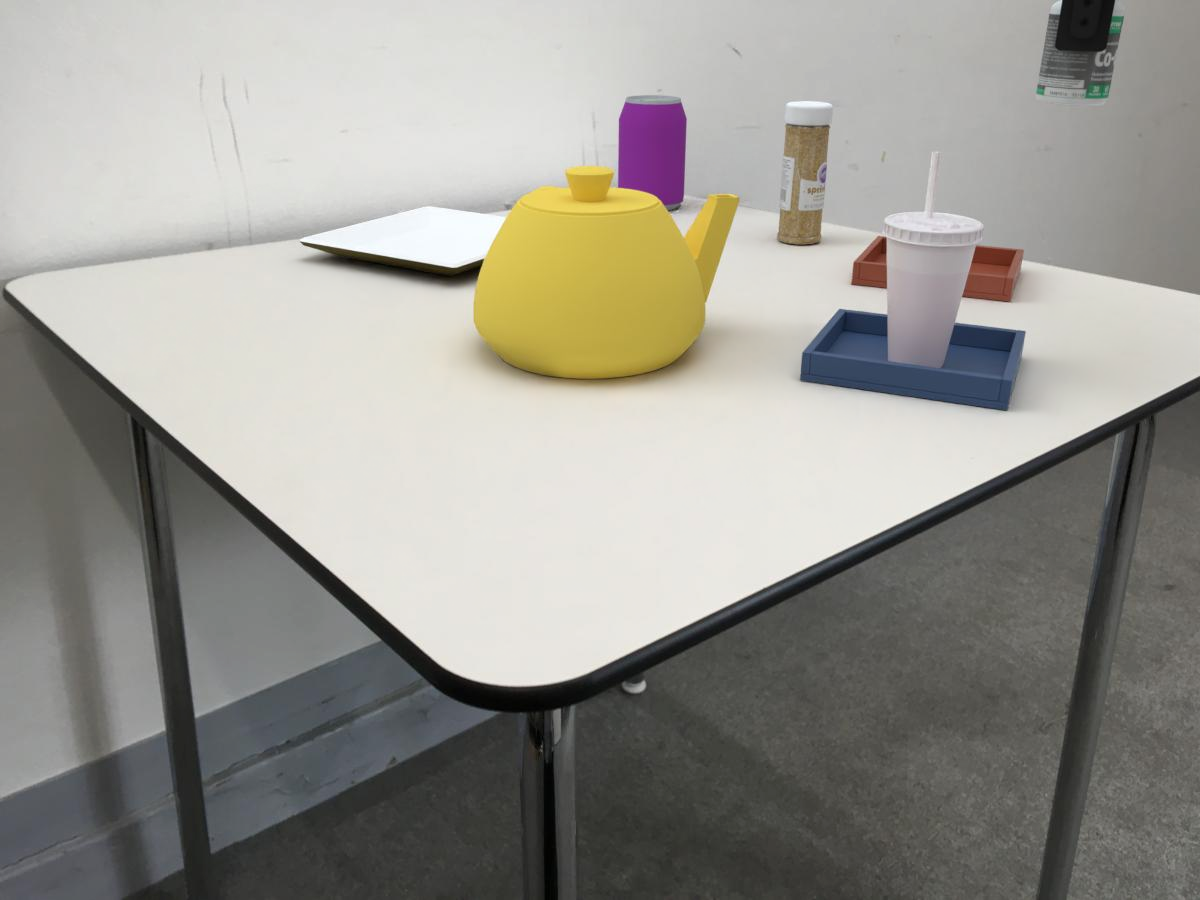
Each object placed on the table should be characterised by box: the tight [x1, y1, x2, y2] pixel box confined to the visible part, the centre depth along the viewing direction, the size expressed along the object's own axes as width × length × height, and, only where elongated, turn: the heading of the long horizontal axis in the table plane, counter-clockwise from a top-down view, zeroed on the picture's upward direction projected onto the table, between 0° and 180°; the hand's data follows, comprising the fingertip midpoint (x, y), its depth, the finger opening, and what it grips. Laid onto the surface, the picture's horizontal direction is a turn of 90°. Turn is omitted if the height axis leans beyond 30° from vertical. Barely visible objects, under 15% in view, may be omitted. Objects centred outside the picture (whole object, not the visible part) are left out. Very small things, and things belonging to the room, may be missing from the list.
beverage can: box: [617, 94, 688, 211], centre depth 124 cm, size 8×8×12 cm
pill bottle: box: [1035, 0, 1125, 107], centre depth 75 cm, size 5×5×8 cm
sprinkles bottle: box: [776, 100, 834, 246], centre depth 108 cm, size 5×5×13 cm
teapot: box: [473, 165, 740, 380], centre depth 78 cm, size 20×19×13 cm
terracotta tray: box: [850, 235, 1025, 302], centre depth 97 cm, size 13×11×2 cm
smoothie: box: [881, 150, 985, 368], centre depth 72 cm, size 6×6×14 cm
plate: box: [298, 205, 507, 277], centre depth 105 cm, size 19×19×2 cm
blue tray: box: [799, 308, 1027, 411], centre depth 75 cm, size 13×11×2 cm
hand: (1080, 45), depth 75 cm, fingers closed on pill bottle, 4 cm apart
